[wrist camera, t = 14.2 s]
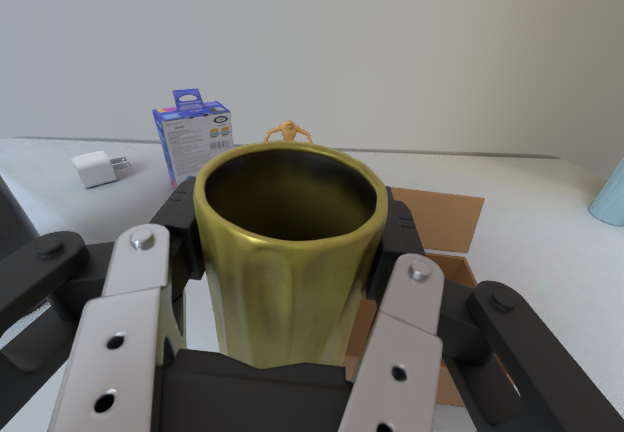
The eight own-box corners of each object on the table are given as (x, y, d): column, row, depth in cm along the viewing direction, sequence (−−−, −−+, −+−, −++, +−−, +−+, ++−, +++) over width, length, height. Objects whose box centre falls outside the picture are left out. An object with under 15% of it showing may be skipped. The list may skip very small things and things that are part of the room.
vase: (319, 479, 14) (409, 299, 5) (202, 437, 15) (107, 221, 6) (340, 357, 19) (406, 154, 10) (250, 330, 20) (238, 121, 11)
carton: (309, 389, 26) (317, 356, 22) (317, 277, 36) (323, 240, 32) (483, 409, 26) (522, 379, 22) (443, 292, 36) (465, 257, 32)
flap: (332, 180, 29) (332, 180, 30) (324, 236, 31) (324, 235, 31) (485, 198, 29) (483, 197, 30) (467, 253, 31) (466, 252, 32)
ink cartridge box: (225, 167, 53) (216, 84, 44) (238, 182, 50) (232, 95, 41) (168, 181, 48) (145, 90, 39) (179, 198, 45) (157, 103, 36)
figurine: (260, 200, 47) (258, 128, 39) (262, 180, 51) (262, 112, 44) (311, 202, 48) (320, 132, 40) (309, 183, 52) (316, 116, 45)
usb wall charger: (80, 178, 47) (69, 155, 44) (127, 166, 51) (120, 145, 48) (86, 190, 45) (75, 167, 42) (135, 176, 49) (128, 155, 46)
